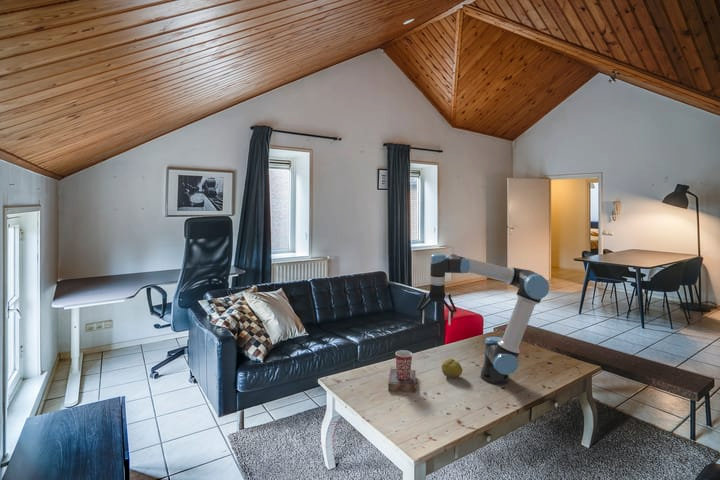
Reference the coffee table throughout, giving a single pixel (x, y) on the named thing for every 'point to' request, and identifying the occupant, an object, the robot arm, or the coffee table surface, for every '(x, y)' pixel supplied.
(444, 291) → the robot arm
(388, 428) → the coffee table surface
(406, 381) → the stand
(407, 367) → the mug
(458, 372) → the fruit
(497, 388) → the coffee table surface
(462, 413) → the coffee table surface
